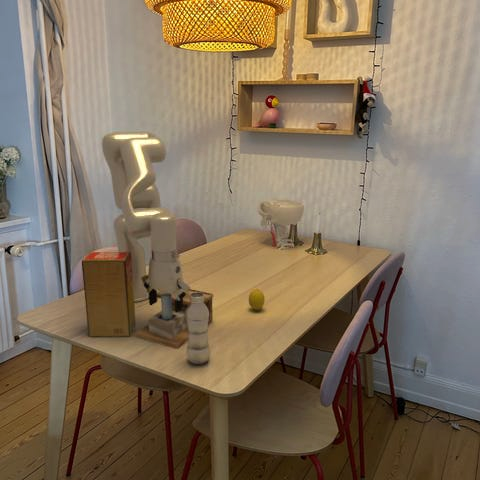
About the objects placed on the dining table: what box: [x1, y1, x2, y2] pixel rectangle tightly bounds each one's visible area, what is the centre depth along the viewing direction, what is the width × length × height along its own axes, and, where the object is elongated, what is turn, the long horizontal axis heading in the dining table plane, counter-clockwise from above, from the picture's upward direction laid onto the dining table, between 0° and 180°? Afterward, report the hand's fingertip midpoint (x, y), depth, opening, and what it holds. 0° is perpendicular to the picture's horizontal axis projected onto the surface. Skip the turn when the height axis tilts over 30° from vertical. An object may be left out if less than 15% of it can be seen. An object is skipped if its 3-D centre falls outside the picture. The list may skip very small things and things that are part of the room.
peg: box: [160, 293, 172, 321], centre depth 142 cm, size 3×3×12 cm
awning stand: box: [134, 288, 214, 349], centre depth 146 cm, size 20×17×10 cm
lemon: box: [248, 288, 266, 311], centre depth 160 cm, size 6×6×8 cm
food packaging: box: [81, 251, 136, 338], centre depth 143 cm, size 13×9×25 cm
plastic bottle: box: [185, 292, 211, 365], centre depth 126 cm, size 6×7×20 cm
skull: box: [257, 198, 305, 251], centre depth 232 cm, size 25×19×23 cm
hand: (165, 306), depth 142 cm, fingers open, 9 cm apart
